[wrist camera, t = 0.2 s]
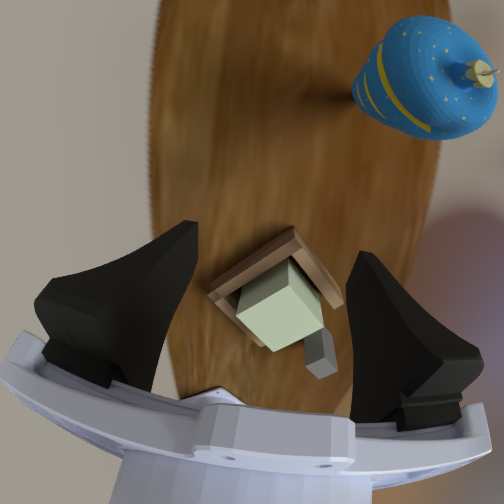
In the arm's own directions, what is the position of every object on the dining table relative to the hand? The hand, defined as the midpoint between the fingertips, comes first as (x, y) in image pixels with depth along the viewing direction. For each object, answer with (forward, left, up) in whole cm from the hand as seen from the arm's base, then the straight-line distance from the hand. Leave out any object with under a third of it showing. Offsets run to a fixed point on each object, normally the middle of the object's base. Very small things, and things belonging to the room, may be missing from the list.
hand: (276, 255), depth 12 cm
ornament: (+10, +3, -11) cm, 15 cm away
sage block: (-5, -10, -11) cm, 15 cm away
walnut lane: (-5, -7, -10) cm, 14 cm away
